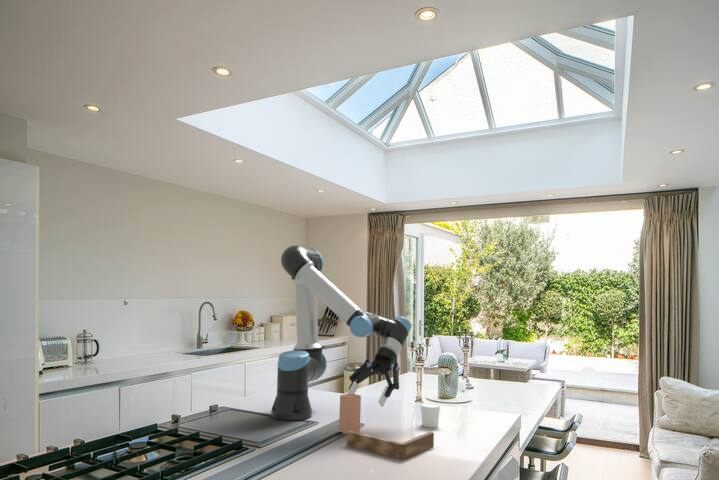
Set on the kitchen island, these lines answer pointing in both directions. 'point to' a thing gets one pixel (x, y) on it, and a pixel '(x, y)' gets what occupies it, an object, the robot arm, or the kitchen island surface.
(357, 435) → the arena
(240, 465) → the kitchen island surface
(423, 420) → the white cup
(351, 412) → the block
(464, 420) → the kitchen island surface
